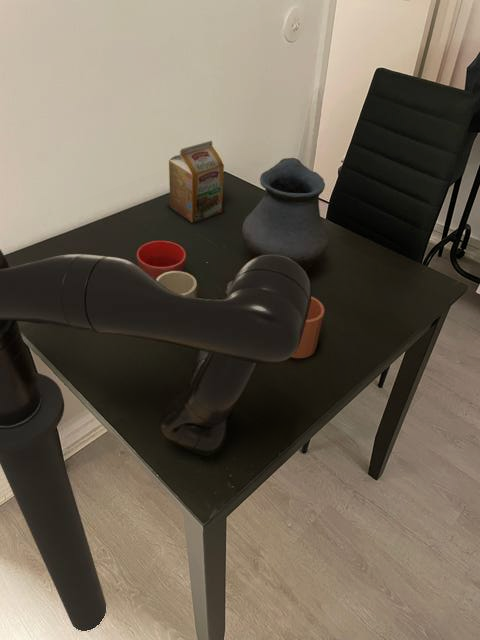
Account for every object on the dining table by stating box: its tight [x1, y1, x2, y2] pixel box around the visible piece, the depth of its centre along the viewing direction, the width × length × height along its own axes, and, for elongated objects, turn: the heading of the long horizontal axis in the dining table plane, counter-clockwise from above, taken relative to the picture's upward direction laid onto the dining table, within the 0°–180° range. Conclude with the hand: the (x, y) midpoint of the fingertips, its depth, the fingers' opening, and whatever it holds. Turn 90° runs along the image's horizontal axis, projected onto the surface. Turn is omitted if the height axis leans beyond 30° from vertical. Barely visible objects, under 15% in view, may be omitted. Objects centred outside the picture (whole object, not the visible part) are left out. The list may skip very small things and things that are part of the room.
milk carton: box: [168, 140, 225, 224], centre depth 139 cm, size 10×11×19 cm
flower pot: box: [136, 240, 187, 279], centre depth 113 cm, size 11×11×10 cm
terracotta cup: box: [290, 295, 325, 359], centre depth 102 cm, size 8×8×10 cm
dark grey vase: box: [241, 157, 330, 273], centre depth 118 cm, size 21×22×25 cm
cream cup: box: [156, 271, 198, 298], centre depth 105 cm, size 8×8×10 cm
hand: (240, 299), depth 104 cm, fingers closed on beer can, 5 cm apart
